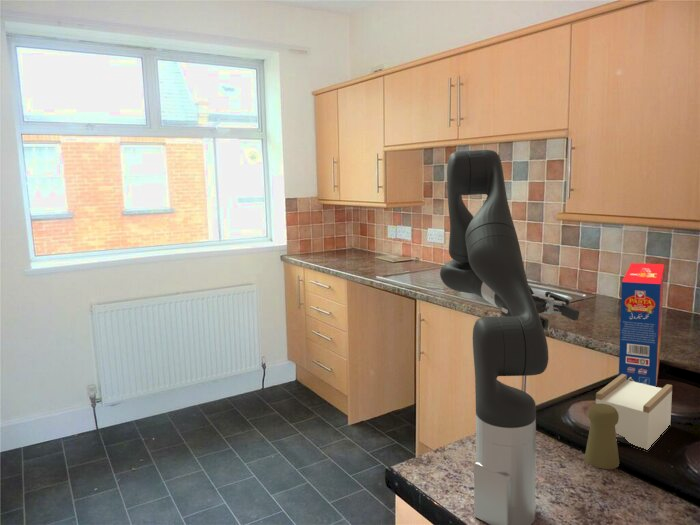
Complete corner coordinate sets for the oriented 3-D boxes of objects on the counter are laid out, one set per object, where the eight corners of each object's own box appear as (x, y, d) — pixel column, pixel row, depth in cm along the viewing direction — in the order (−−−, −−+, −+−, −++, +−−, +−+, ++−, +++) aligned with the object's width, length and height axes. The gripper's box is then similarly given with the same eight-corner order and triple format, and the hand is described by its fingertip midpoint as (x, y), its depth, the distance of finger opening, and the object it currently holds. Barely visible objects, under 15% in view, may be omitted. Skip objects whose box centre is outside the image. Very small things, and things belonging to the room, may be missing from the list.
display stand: (647, 451, 100) (649, 407, 98) (594, 434, 107) (595, 393, 106) (670, 425, 109) (672, 385, 108) (620, 411, 116) (622, 373, 115)
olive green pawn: (608, 451, 101) (610, 398, 99) (626, 468, 95) (628, 412, 93) (578, 453, 100) (579, 400, 99) (594, 470, 94) (595, 414, 93)
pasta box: (655, 397, 123) (660, 284, 119) (618, 391, 127) (621, 281, 123) (659, 360, 146) (664, 264, 142) (628, 356, 150) (631, 263, 146)
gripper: (482, 283, 112) (538, 310, 98) (531, 272, 118) (590, 296, 104) (480, 314, 114) (534, 345, 101) (527, 302, 120) (584, 329, 107)
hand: (562, 320), depth 102 cm, fingers open, 8 cm apart
